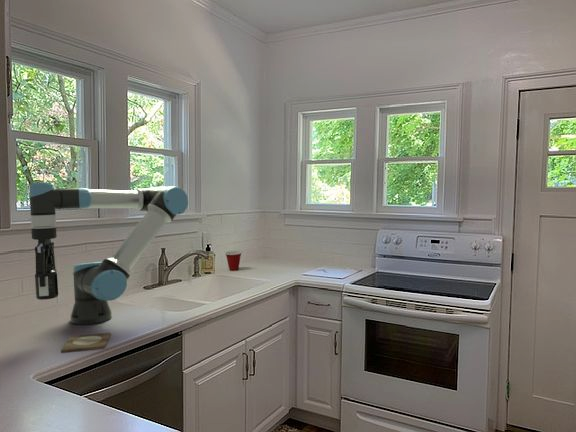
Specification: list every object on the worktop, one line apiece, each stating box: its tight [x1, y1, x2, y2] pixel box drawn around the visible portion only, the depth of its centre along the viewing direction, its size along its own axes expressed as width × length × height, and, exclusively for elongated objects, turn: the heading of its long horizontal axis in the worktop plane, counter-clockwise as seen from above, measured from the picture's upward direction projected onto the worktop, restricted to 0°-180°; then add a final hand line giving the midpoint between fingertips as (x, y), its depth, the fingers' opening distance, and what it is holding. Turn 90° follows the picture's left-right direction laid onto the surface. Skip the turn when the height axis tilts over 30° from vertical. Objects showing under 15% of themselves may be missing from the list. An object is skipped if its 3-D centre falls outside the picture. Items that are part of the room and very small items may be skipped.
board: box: [60, 332, 112, 353], centre depth 148 cm, size 14×13×1 cm
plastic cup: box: [224, 250, 242, 272], centre depth 283 cm, size 11×11×12 cm
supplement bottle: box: [34, 263, 59, 301], centre depth 152 cm, size 7×7×12 cm
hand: (47, 293), depth 152 cm, fingers closed on supplement bottle, 7 cm apart
